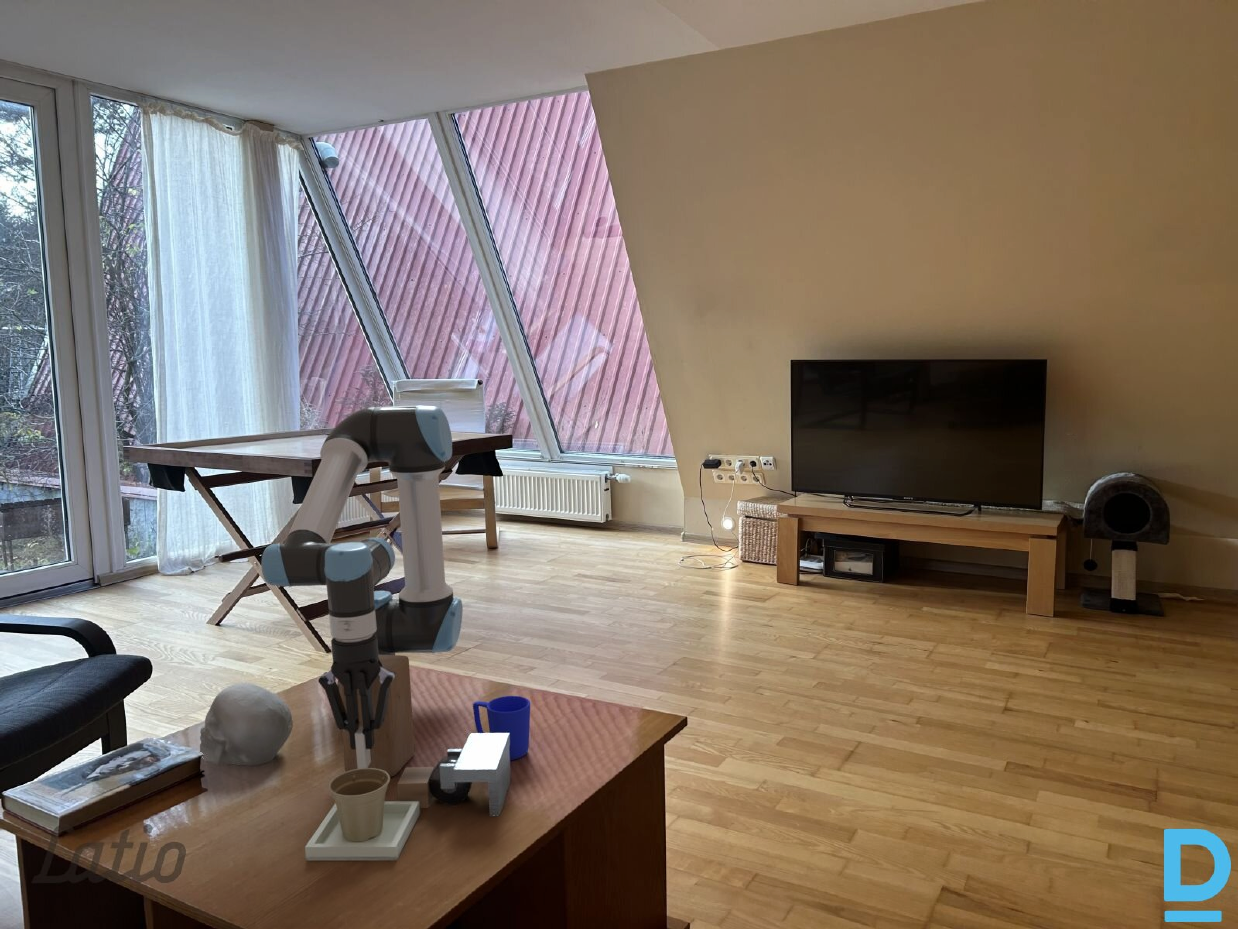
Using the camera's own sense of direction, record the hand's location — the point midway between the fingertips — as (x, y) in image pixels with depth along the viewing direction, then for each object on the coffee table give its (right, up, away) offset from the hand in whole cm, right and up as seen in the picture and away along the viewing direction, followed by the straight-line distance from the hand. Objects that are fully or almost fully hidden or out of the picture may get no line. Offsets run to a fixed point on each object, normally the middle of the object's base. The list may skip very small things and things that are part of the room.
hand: (364, 765), depth 161 cm
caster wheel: (+18, -5, -1) cm, 18 cm away
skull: (-28, -4, +18) cm, 34 cm away
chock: (+9, -6, -1) cm, 11 cm away
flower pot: (+3, -7, -12) cm, 15 cm away
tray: (+4, -7, -12) cm, 15 cm away
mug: (+22, -3, +17) cm, 28 cm away
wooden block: (0, -4, +13) cm, 13 cm away
